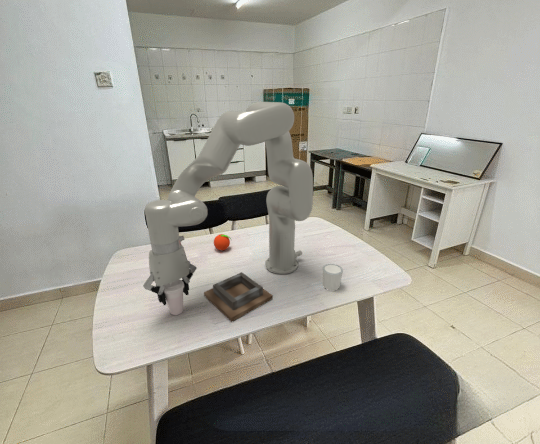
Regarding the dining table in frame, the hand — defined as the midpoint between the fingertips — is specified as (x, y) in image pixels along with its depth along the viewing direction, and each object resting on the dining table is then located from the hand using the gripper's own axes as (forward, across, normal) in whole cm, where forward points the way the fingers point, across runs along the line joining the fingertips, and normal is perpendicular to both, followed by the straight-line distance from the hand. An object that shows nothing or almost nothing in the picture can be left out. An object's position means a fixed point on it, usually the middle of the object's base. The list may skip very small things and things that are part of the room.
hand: (174, 297), depth 86 cm
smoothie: (+5, 0, 0) cm, 5 cm away
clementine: (+5, -32, -24) cm, 40 cm away
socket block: (+5, -18, +7) cm, 20 cm away
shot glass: (+5, -46, +23) cm, 52 cm away
